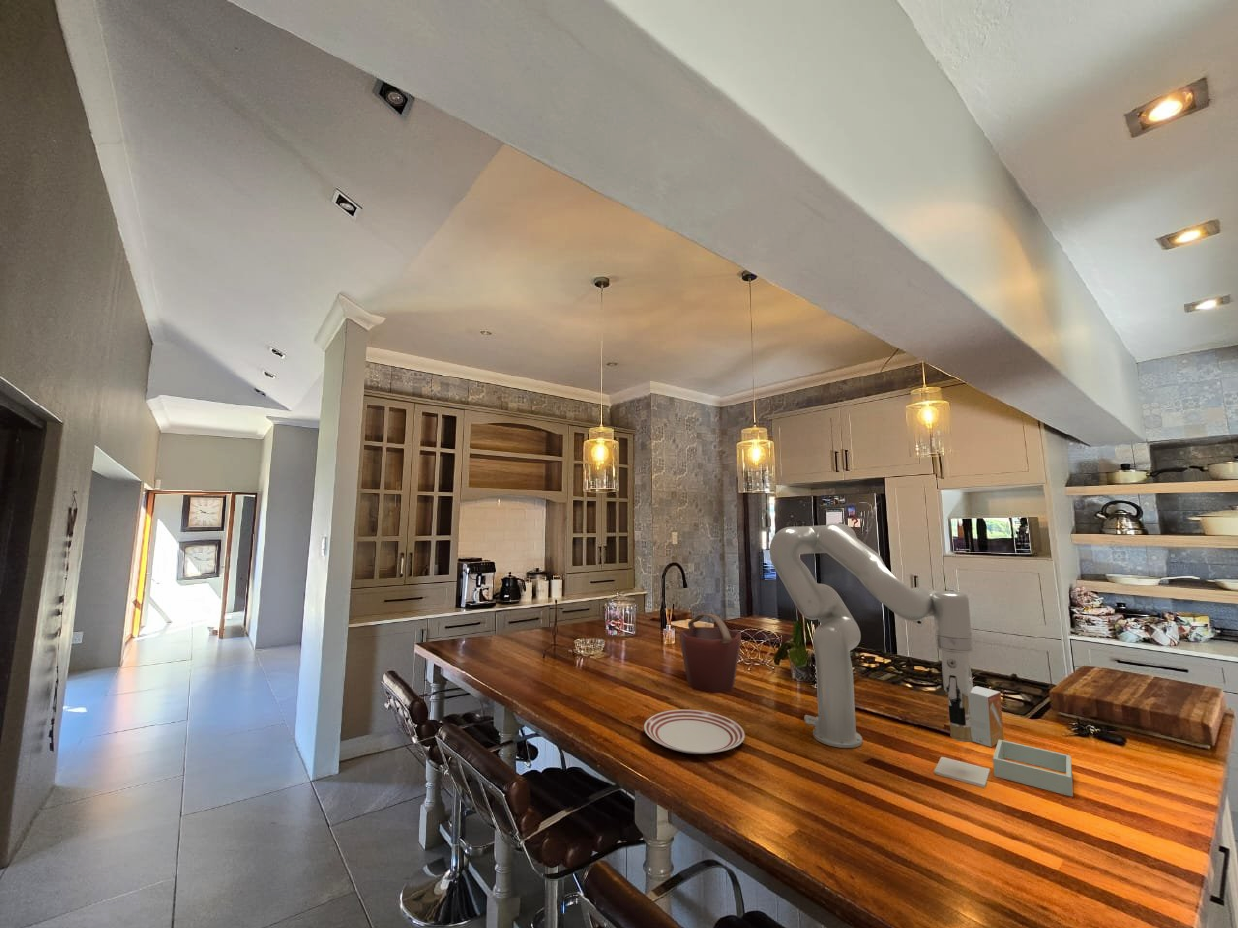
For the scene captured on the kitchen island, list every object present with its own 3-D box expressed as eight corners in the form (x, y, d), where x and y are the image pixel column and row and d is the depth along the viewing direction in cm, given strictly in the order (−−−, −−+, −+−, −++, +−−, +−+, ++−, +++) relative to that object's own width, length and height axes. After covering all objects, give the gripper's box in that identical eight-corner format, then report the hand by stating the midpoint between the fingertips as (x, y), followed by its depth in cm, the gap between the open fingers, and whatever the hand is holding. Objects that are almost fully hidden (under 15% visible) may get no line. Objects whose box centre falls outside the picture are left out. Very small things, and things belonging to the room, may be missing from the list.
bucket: (675, 675, 199) (674, 609, 202) (731, 674, 202) (729, 608, 204) (691, 697, 175) (690, 622, 178) (754, 695, 178) (752, 620, 180)
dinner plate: (763, 739, 143) (763, 726, 143) (708, 774, 123) (708, 759, 124) (682, 713, 162) (682, 702, 162) (623, 740, 142) (623, 727, 142)
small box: (991, 747, 137) (988, 696, 139) (965, 739, 142) (962, 690, 144) (1004, 740, 142) (1001, 691, 143) (978, 732, 147) (975, 685, 148)
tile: (934, 773, 123) (933, 770, 123) (941, 758, 131) (941, 756, 131) (985, 787, 117) (984, 784, 117) (989, 771, 124) (989, 768, 124)
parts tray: (994, 775, 122) (992, 758, 123) (999, 755, 133) (998, 739, 133) (1072, 796, 113) (1071, 777, 113) (1072, 773, 124) (1070, 755, 124)
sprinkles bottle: (975, 743, 122) (970, 684, 123) (953, 741, 123) (949, 682, 124) (968, 736, 126) (964, 678, 127) (947, 733, 127) (943, 677, 129)
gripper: (967, 651, 118) (973, 735, 116) (976, 639, 131) (982, 714, 129) (929, 646, 123) (935, 727, 121) (942, 634, 136) (947, 707, 134)
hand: (959, 719), depth 125 cm, fingers closed on sprinkles bottle, 4 cm apart
